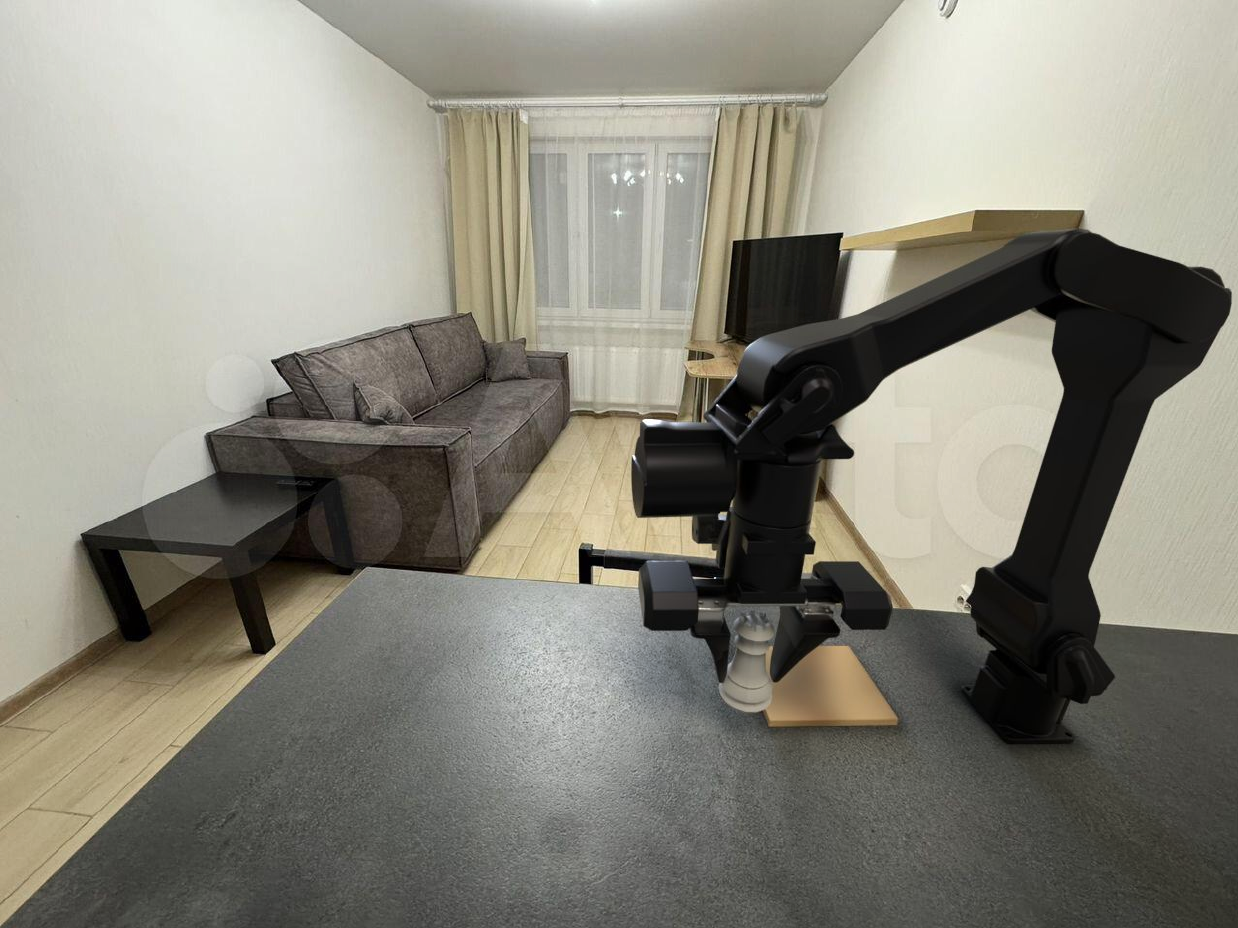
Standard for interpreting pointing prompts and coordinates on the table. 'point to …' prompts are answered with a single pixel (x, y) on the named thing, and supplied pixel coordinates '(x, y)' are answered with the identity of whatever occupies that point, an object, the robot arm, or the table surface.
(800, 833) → the table surface
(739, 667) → the white chess queen
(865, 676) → the coaster board
